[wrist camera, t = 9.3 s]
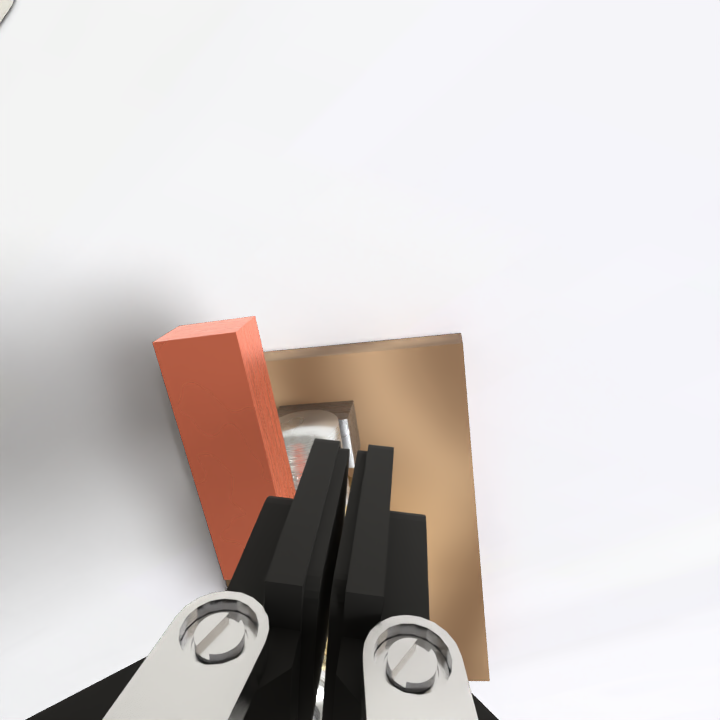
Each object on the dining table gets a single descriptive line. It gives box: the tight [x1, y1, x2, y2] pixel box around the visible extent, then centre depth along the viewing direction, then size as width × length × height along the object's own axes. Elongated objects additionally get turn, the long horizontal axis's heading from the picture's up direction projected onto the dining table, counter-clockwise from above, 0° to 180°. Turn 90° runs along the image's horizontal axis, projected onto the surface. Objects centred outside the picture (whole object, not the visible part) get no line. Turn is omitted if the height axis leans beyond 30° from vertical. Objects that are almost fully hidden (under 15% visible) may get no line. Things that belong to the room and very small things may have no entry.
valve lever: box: [152, 316, 326, 720], centre depth 17 cm, size 15×3×2 cm, turn 9°
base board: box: [226, 333, 490, 681], centre depth 28 cm, size 14×20×2 cm
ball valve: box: [277, 400, 361, 655], centre depth 24 cm, size 5×16×8 cm, turn 8°
